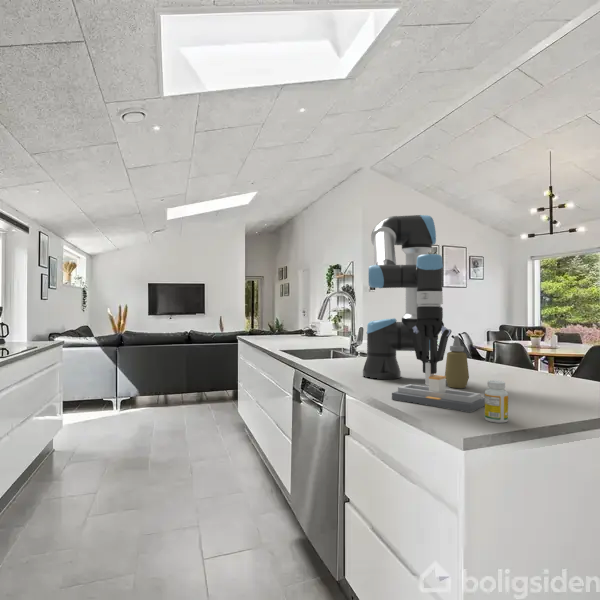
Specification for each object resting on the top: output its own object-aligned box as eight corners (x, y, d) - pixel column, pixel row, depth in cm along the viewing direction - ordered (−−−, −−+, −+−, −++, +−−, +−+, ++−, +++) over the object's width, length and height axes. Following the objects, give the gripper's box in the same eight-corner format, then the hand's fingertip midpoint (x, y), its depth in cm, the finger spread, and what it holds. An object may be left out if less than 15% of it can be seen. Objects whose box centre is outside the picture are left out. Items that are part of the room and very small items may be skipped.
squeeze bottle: (472, 389, 151) (472, 336, 152) (448, 389, 152) (448, 336, 152) (464, 385, 160) (464, 335, 160) (441, 385, 160) (441, 335, 160)
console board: (391, 399, 134) (391, 387, 135) (411, 393, 143) (411, 383, 143) (470, 412, 118) (470, 399, 118) (486, 404, 127) (486, 392, 127)
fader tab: (428, 394, 130) (428, 376, 131) (435, 392, 134) (435, 374, 134) (439, 396, 128) (439, 377, 128) (445, 394, 132) (445, 376, 132)
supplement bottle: (491, 423, 107) (491, 383, 107) (480, 417, 112) (480, 380, 113) (512, 422, 108) (512, 383, 108) (500, 417, 113) (500, 379, 113)
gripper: (403, 305, 135) (404, 383, 134) (444, 305, 126) (445, 388, 125) (415, 305, 140) (415, 380, 140) (455, 305, 131) (456, 385, 131)
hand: (429, 384), depth 133 cm, fingers closed
